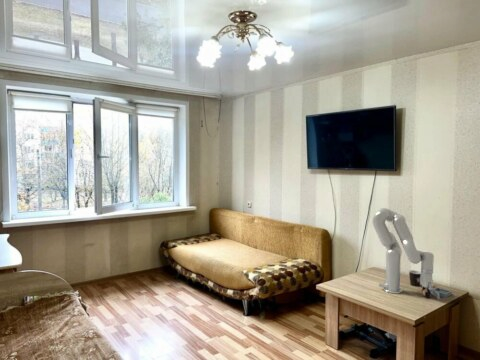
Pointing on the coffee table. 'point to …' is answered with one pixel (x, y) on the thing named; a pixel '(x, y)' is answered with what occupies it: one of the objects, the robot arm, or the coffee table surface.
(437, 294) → the fence
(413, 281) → the coffee mug
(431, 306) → the coffee table surface
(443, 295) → the dish
